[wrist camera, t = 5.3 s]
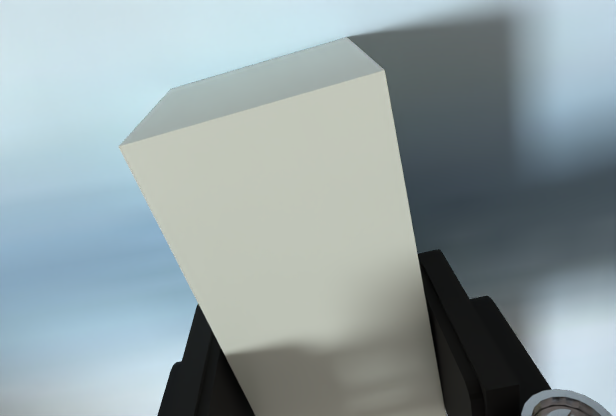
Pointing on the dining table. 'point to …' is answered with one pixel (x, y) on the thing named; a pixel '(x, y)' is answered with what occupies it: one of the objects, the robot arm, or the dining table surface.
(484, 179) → the dining table surface
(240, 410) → the robot arm
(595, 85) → the dining table surface
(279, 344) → the clay strip
